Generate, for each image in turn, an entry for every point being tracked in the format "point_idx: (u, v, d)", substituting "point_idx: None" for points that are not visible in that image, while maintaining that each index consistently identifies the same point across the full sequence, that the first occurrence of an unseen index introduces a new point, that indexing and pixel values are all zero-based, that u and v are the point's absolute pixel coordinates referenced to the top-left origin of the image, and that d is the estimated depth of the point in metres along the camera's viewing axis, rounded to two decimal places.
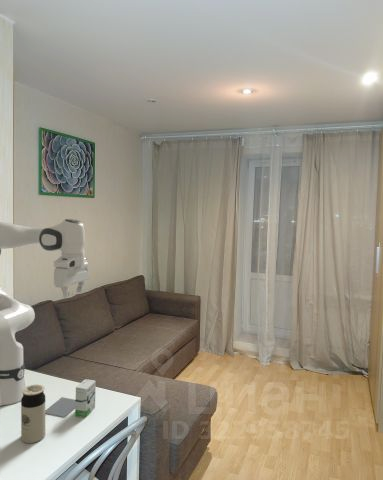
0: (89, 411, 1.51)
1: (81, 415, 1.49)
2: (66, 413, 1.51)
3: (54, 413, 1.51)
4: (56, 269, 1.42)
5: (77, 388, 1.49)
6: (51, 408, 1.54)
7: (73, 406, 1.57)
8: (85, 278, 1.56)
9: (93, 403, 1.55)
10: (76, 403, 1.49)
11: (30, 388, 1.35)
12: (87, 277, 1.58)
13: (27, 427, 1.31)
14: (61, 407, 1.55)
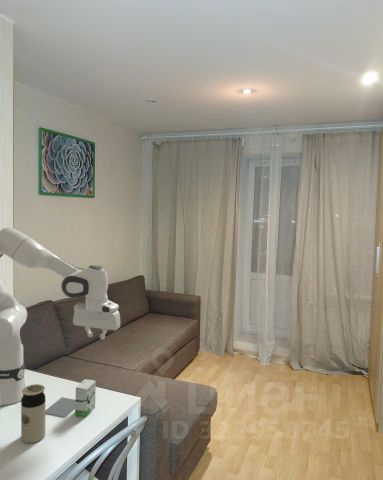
0: (89, 411, 1.51)
1: (81, 415, 1.49)
2: (66, 413, 1.51)
3: (54, 413, 1.51)
4: (114, 314, 1.52)
5: (77, 388, 1.49)
6: (51, 408, 1.54)
7: (73, 406, 1.57)
8: None
9: (93, 403, 1.55)
10: (76, 403, 1.49)
11: (30, 388, 1.35)
12: None
13: (27, 427, 1.31)
14: (61, 407, 1.55)
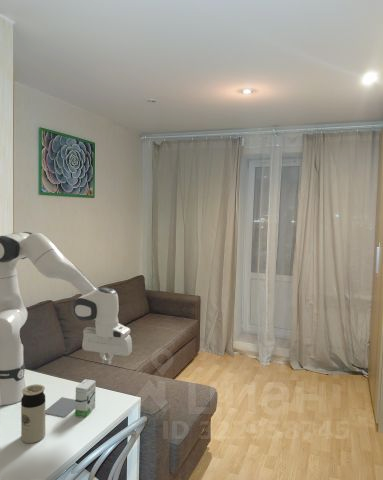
0: (89, 411, 1.51)
1: (81, 415, 1.49)
2: (66, 413, 1.51)
3: (54, 413, 1.51)
4: (126, 339, 1.45)
5: (77, 388, 1.49)
6: (51, 408, 1.54)
7: (73, 406, 1.57)
8: None
9: (93, 403, 1.55)
10: (76, 403, 1.49)
11: (30, 388, 1.35)
12: None
13: (27, 427, 1.31)
14: (61, 407, 1.55)
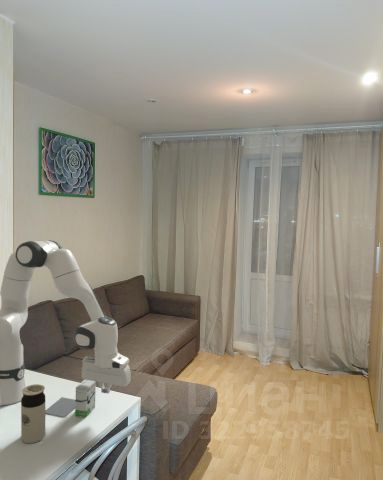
0: (89, 411, 1.51)
1: (81, 415, 1.49)
2: (66, 413, 1.51)
3: (54, 413, 1.51)
4: (124, 369, 1.46)
5: (77, 388, 1.49)
6: (51, 408, 1.54)
7: (73, 406, 1.57)
8: None
9: (93, 403, 1.55)
10: (76, 403, 1.49)
11: (30, 388, 1.35)
12: None
13: (27, 427, 1.31)
14: (61, 407, 1.55)
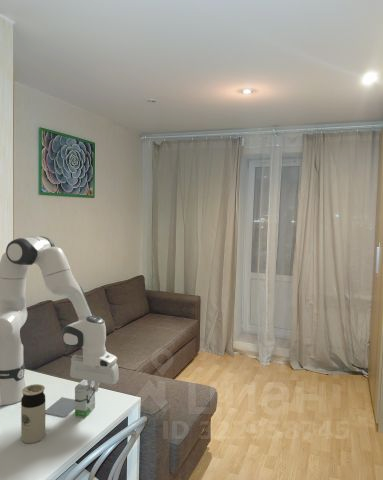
0: (88, 410, 1.51)
1: (81, 415, 1.49)
2: (66, 413, 1.51)
3: (54, 413, 1.51)
4: (112, 368, 1.47)
5: (76, 388, 1.49)
6: (51, 408, 1.54)
7: (73, 406, 1.57)
8: None
9: (93, 403, 1.55)
10: (76, 403, 1.49)
11: (30, 388, 1.35)
12: None
13: (27, 427, 1.31)
14: (61, 407, 1.55)
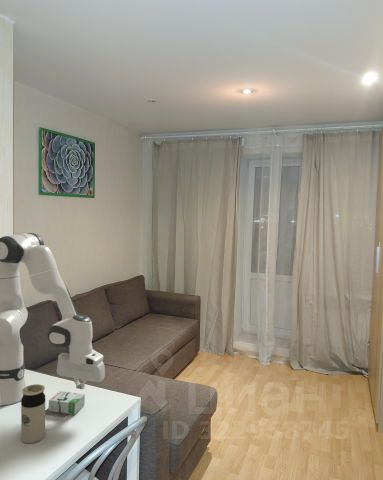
0: (74, 399, 1.52)
1: (72, 407, 1.50)
2: None
3: (54, 413, 1.51)
4: (98, 366, 1.49)
5: (49, 409, 1.52)
6: None
7: None
8: None
9: (76, 395, 1.56)
10: (62, 411, 1.51)
11: (30, 388, 1.35)
12: None
13: (27, 427, 1.31)
14: None
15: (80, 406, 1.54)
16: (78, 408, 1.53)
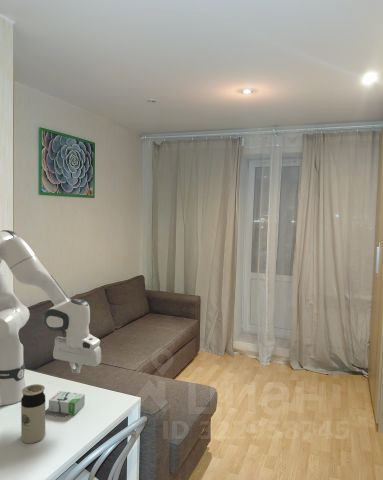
0: (74, 399, 1.52)
1: (72, 407, 1.50)
2: None
3: (54, 413, 1.51)
4: (95, 350, 1.49)
5: (49, 409, 1.52)
6: None
7: None
8: None
9: (76, 395, 1.56)
10: (62, 411, 1.51)
11: (30, 388, 1.35)
12: None
13: (27, 427, 1.31)
14: None
15: (80, 406, 1.54)
16: (78, 408, 1.53)
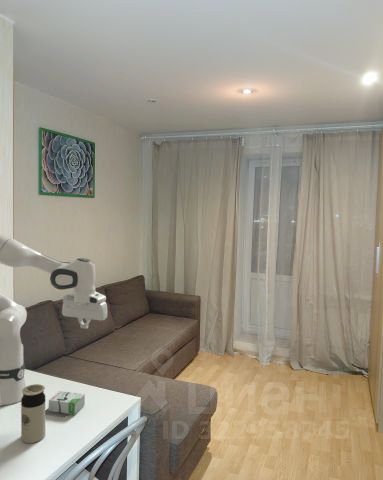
0: (74, 399, 1.52)
1: (72, 407, 1.50)
2: None
3: (54, 413, 1.51)
4: (101, 304, 1.58)
5: (49, 409, 1.52)
6: None
7: None
8: None
9: (76, 395, 1.56)
10: (62, 411, 1.51)
11: (30, 388, 1.35)
12: None
13: (27, 427, 1.31)
14: None
15: (80, 406, 1.54)
16: (78, 408, 1.53)
